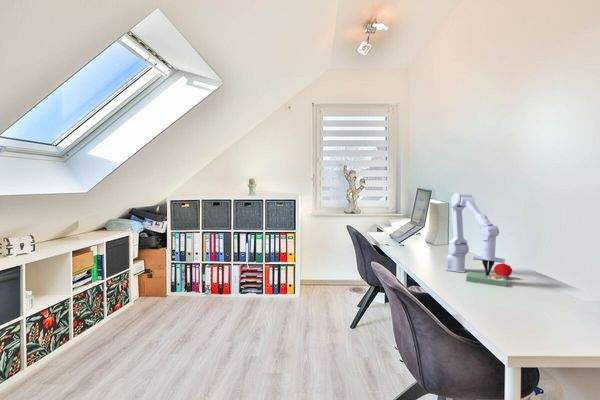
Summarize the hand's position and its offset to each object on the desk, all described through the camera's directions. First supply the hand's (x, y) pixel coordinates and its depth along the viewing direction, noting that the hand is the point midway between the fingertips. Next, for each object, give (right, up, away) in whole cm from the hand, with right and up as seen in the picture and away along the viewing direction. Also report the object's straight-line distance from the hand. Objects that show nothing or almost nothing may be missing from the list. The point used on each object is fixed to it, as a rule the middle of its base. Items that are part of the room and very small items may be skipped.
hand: (487, 275), depth 187 cm
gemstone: (+12, -3, +6) cm, 14 cm away
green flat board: (0, -3, 0) cm, 3 cm away
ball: (+3, -1, -1) cm, 3 cm away
